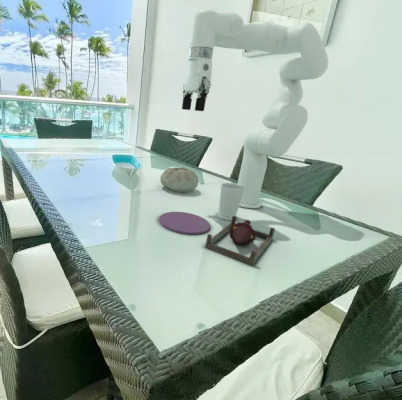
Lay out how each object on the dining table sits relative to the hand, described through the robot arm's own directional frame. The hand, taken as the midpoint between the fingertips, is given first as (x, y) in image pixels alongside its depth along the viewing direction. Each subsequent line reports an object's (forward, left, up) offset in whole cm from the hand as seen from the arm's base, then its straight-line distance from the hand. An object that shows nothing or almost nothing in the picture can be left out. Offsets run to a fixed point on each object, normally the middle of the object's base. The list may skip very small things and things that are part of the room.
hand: (192, 110), depth 95 cm
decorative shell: (-22, -13, -37) cm, 44 cm away
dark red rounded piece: (+12, +28, -37) cm, 48 cm away
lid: (+12, +9, -37) cm, 40 cm away
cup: (-6, +17, -37) cm, 41 cm away
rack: (+12, +28, -37) cm, 48 cm away
